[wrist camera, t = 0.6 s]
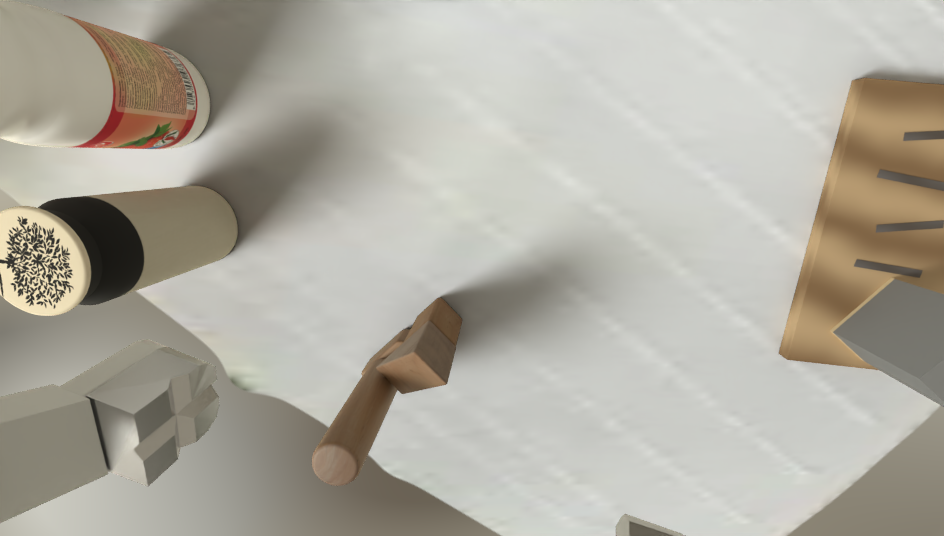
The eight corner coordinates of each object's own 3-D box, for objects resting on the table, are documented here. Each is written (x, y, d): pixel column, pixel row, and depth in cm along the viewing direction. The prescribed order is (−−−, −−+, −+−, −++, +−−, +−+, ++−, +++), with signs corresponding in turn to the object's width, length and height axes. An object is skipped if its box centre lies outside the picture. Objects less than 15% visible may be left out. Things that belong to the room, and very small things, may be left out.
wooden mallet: (464, 319, 49) (441, 410, 32) (393, 381, 51) (335, 499, 34) (439, 294, 48) (403, 372, 31) (369, 358, 51) (298, 465, 33)
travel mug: (243, 196, 47) (92, 219, 30) (235, 269, 49) (87, 332, 32) (168, 177, 48) (-28, 189, 30) (162, 251, 49) (-25, 304, 32)
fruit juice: (226, 74, 45) (-204, -50, 18) (197, 165, 47) (-222, 179, 20) (134, 30, 44) (-448, -168, 17) (110, 123, 47) (-440, 79, 20)
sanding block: (861, 359, 45) (958, 415, 36) (829, 330, 45) (919, 378, 35) (923, 308, 44) (1042, 351, 34) (891, 277, 43) (1002, 312, 34)
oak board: (852, 80, 41) (865, 77, 40) (1018, 95, 41) (1038, 92, 39) (778, 353, 47) (787, 360, 46) (921, 369, 47) (936, 376, 45)
